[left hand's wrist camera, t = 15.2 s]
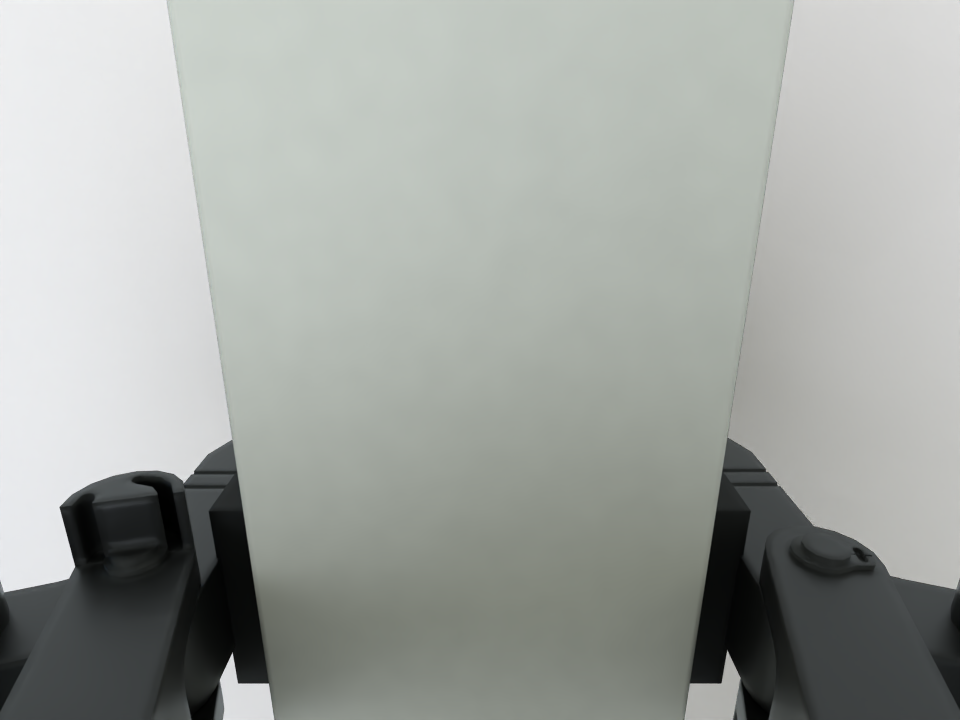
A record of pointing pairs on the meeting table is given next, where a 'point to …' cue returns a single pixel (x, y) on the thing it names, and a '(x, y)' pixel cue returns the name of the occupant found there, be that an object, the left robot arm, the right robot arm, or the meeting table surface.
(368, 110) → the bar
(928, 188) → the meeting table surface
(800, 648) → the left robot arm
